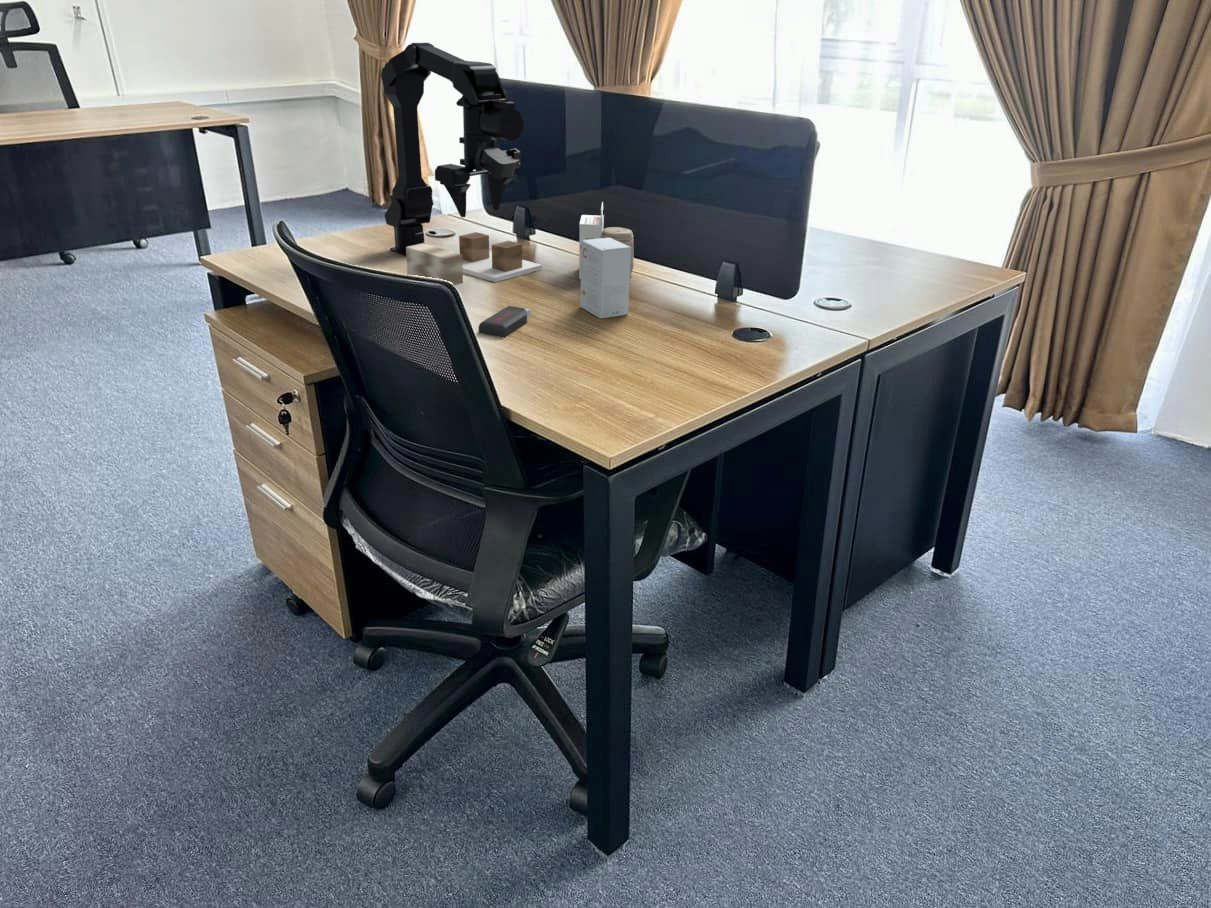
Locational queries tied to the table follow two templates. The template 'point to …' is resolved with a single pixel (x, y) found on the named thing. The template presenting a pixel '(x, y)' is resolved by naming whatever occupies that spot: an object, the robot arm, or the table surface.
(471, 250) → the walnut posts
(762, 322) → the table surface
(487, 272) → the grey base board
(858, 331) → the table surface
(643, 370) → the table surface
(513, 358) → the table surface
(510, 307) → the usb drive
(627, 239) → the carving
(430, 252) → the maple beam block
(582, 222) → the ink cartridge box
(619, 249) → the small box
